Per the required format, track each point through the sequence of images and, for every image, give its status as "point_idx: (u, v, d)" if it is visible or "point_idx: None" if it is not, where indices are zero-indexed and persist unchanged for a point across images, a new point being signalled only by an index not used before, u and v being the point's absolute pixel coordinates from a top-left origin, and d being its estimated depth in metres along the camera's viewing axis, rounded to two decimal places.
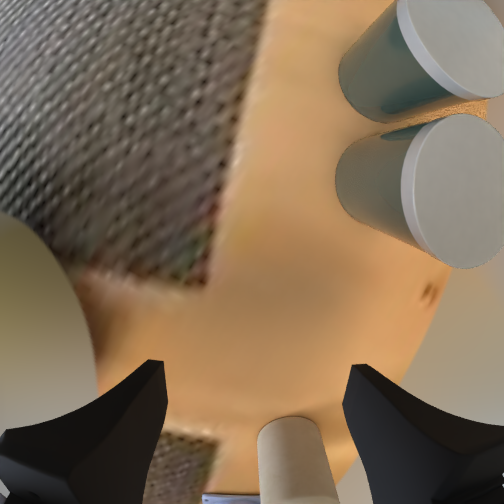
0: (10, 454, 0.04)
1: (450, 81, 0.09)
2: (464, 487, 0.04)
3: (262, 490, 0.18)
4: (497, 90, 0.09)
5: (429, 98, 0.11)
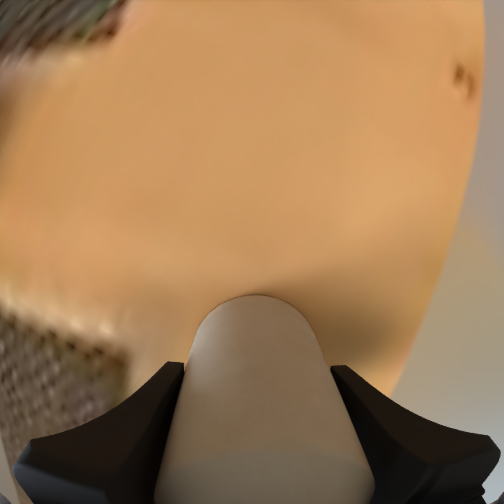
0: (40, 466, 0.04)
1: None
2: (436, 498, 0.04)
3: None
4: None
5: None
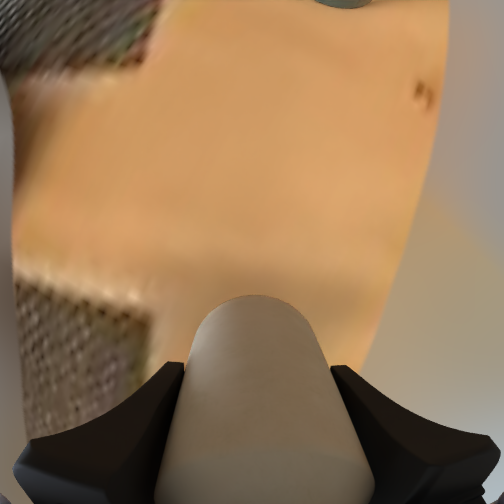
0: (40, 467, 0.04)
1: None
2: (437, 498, 0.04)
3: None
4: None
5: None
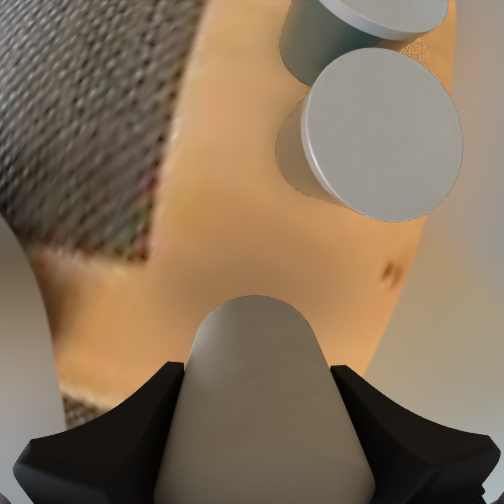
0: (40, 466, 0.04)
1: (358, 17, 0.08)
2: (437, 498, 0.04)
3: (167, 437, 0.07)
4: (423, 25, 0.08)
5: (351, 46, 0.11)
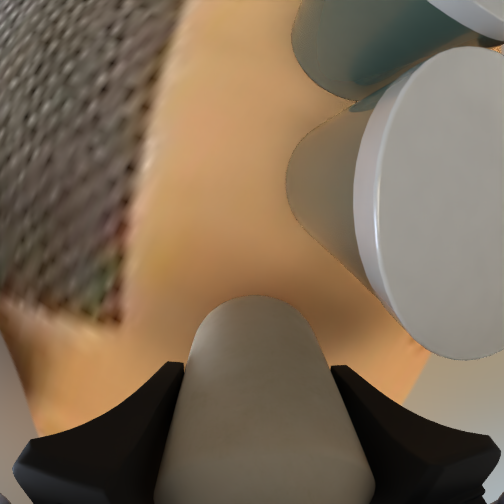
0: (39, 466, 0.04)
1: None
2: (437, 497, 0.04)
3: (167, 437, 0.07)
4: None
5: (417, 40, 0.06)
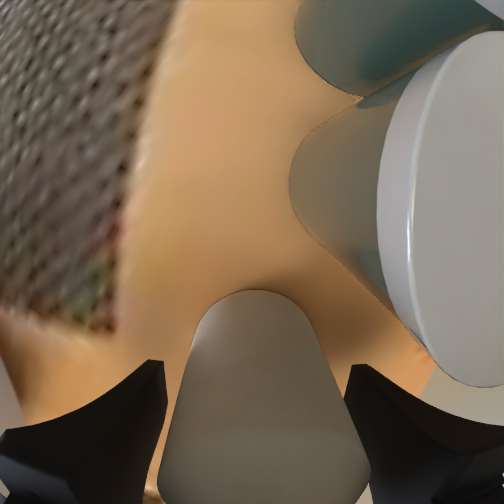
0: (10, 454, 0.04)
1: None
2: (464, 487, 0.04)
3: (170, 424, 0.08)
4: None
5: (436, 27, 0.05)
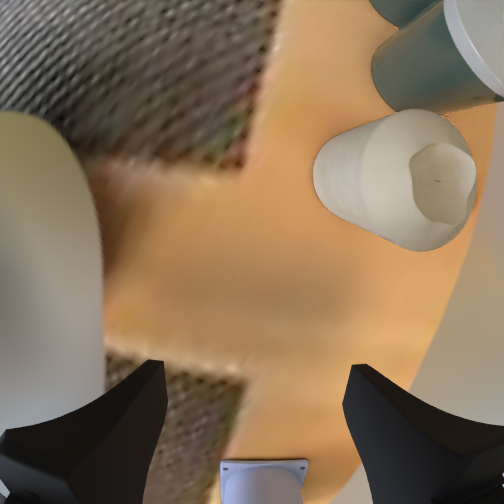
0: (10, 454, 0.04)
1: None
2: (464, 487, 0.04)
3: (347, 154, 0.12)
4: None
5: None
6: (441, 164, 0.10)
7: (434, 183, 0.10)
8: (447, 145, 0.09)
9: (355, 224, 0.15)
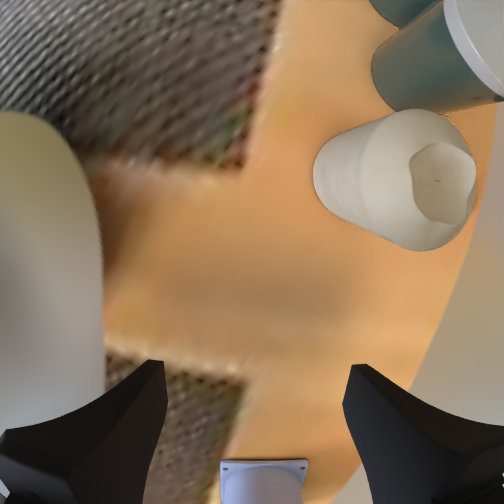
0: (10, 454, 0.04)
1: None
2: (464, 487, 0.04)
3: (347, 154, 0.12)
4: None
5: None
6: (441, 164, 0.10)
7: (434, 183, 0.10)
8: (447, 145, 0.09)
9: (355, 224, 0.15)
